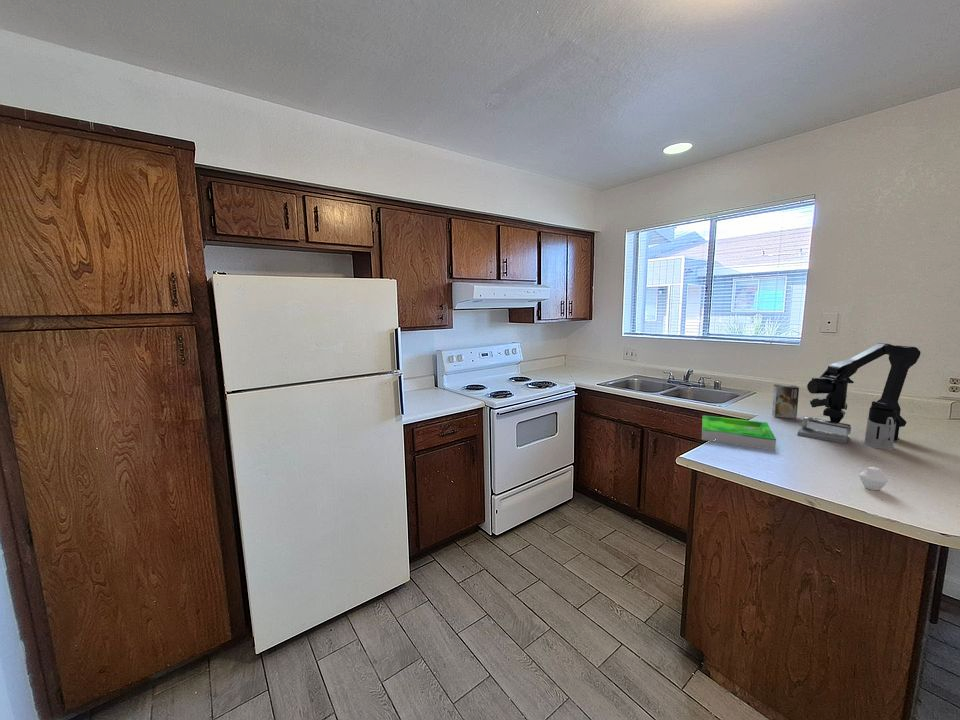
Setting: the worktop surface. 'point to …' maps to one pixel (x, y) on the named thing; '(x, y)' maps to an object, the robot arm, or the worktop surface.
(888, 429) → the grey rounded piece
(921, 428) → the worktop surface
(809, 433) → the label board
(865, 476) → the white faceted lump
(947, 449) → the worktop surface
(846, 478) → the worktop surface
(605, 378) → the worktop surface
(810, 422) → the swing arm
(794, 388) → the coffee box
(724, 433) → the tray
